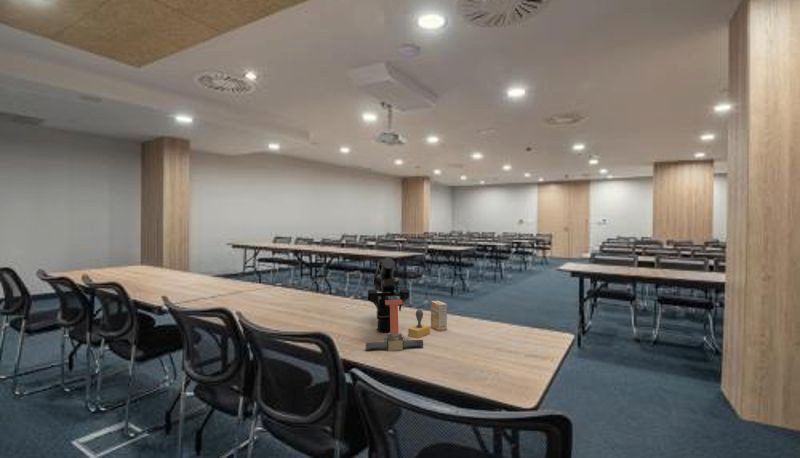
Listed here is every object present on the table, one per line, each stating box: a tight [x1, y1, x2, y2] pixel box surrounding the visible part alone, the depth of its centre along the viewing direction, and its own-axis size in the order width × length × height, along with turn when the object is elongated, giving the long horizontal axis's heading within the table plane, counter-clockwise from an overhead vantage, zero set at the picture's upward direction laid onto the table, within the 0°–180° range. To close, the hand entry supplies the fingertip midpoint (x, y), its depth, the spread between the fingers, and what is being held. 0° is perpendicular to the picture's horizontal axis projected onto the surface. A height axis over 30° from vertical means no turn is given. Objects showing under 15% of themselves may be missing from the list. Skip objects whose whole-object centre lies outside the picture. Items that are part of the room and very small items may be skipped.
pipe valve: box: [364, 333, 424, 352], centre depth 161 cm, size 5×24×6 cm, turn 101°
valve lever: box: [385, 299, 403, 338], centre depth 162 cm, size 2×7×15 cm, turn 100°
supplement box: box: [430, 300, 448, 332], centre depth 191 cm, size 8×5×13 cm, turn 25°
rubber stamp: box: [407, 309, 431, 339], centre depth 181 cm, size 10×6×12 cm, turn 140°
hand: (389, 311), depth 170 cm, fingers open, 9 cm apart
